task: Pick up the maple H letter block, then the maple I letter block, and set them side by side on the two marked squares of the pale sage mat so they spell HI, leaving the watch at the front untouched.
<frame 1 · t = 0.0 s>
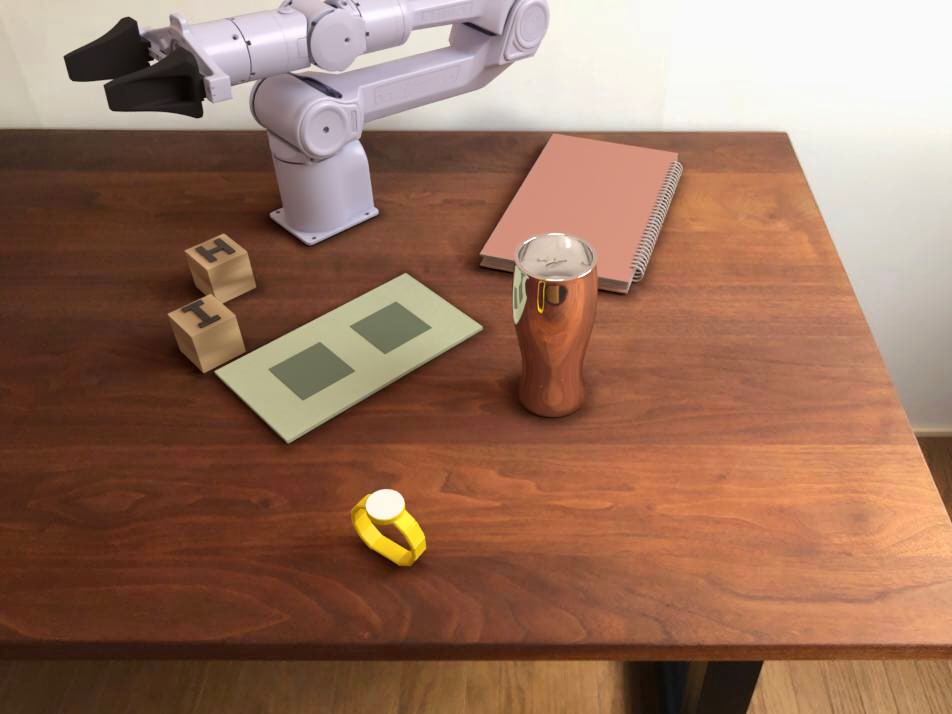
hand: (87, 83, 75), 22 cm above the table, tool horizontal, fingers open, 7 cm apart
block H: (226, 287, 91), on the table
block I: (213, 351, 84), on the table
beer glass: (551, 395, 80), on the table
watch: (392, 554, 68), on the table
notebook: (590, 215, 101), on the table
word mat: (353, 351, 84), on the table
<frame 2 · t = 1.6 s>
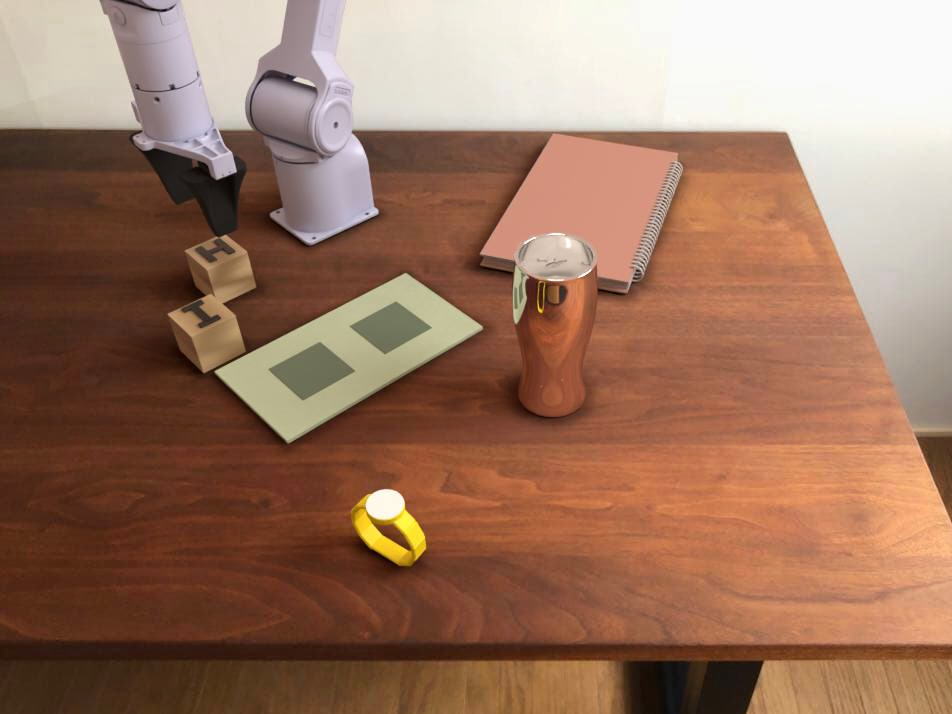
hand: (205, 215, 85), 8 cm above the table, tool pointing down, fingers open, 7 cm apart
nothing on the table moved.
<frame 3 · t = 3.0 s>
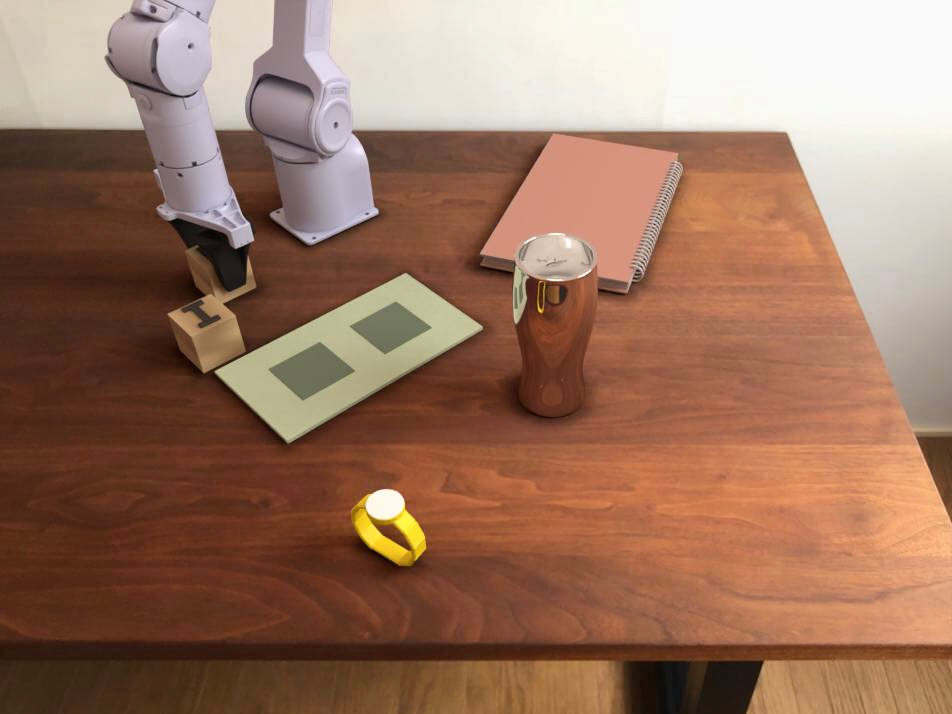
hand: (222, 275, 90), 1 cm above the table, tool pointing down, fingers closed on block H, 4 cm apart
block H: (226, 287, 91), on the table, touching gripper
everything else where it was.
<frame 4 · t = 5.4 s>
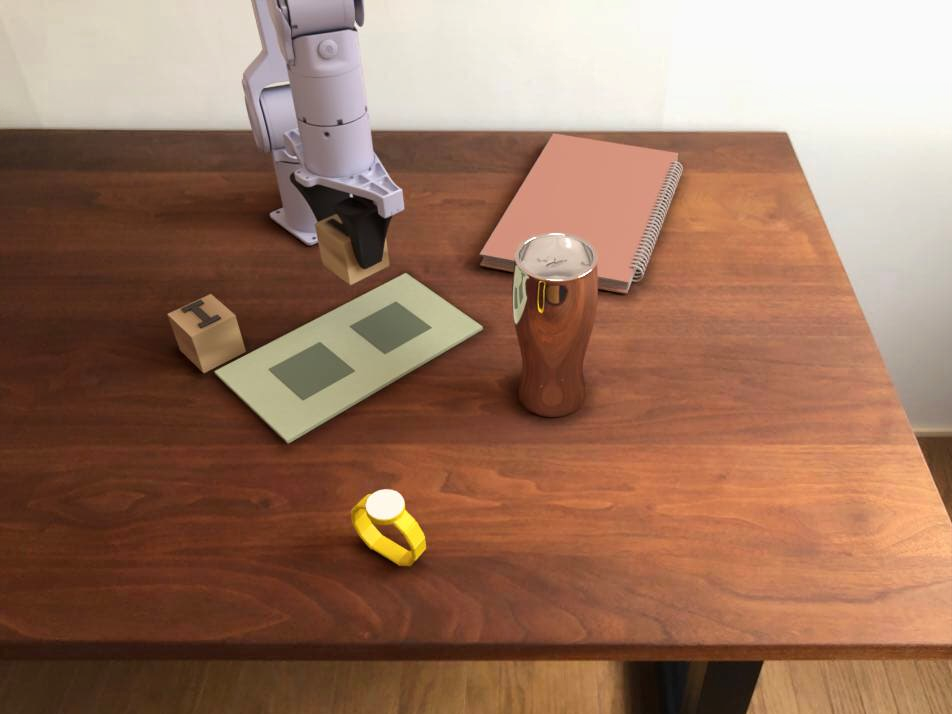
hand: (354, 251, 81), 8 cm above the table, tool pointing down, fingers closed on block H, 4 cm apart
block H: (356, 265, 82), point 7 cm above the table, touching gripper
everything else where it was.
when the fingers open (2 cm above the table, at t = 7.7 s): block H stays where it is, resting on word mat.
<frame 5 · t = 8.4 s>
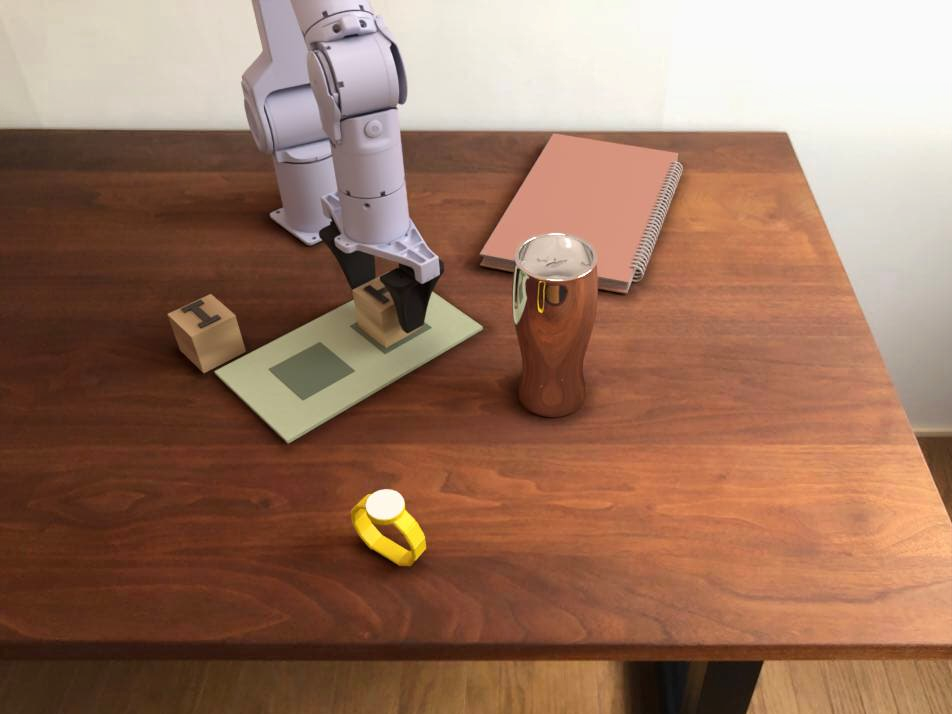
hand: (388, 308, 84), 3 cm above the table, tool pointing down, fingers open, 7 cm apart
block H: (390, 327, 86), resting on word mat
everything else where it was.
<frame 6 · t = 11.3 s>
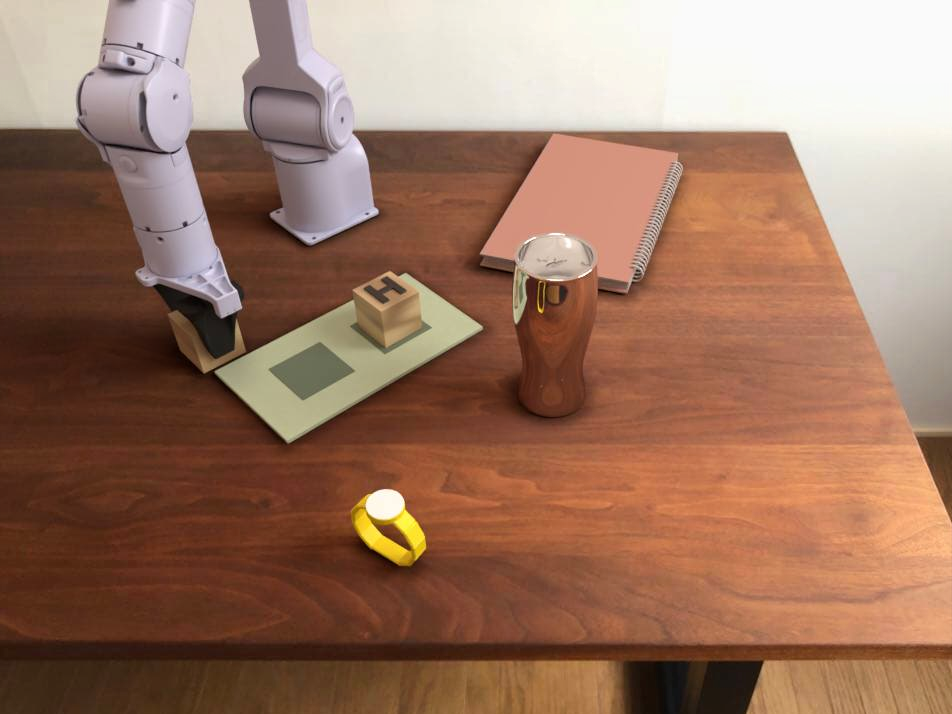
hand: (209, 339, 83), 1 cm above the table, tool pointing down, fingers closed on block I, 4 cm apart
block I: (213, 351, 84), on the table, touching gripper
everything else where it was.
when the fingers open (2 cm above the table, at t = 15.4 s): block I stays where it is, resting on word mat.
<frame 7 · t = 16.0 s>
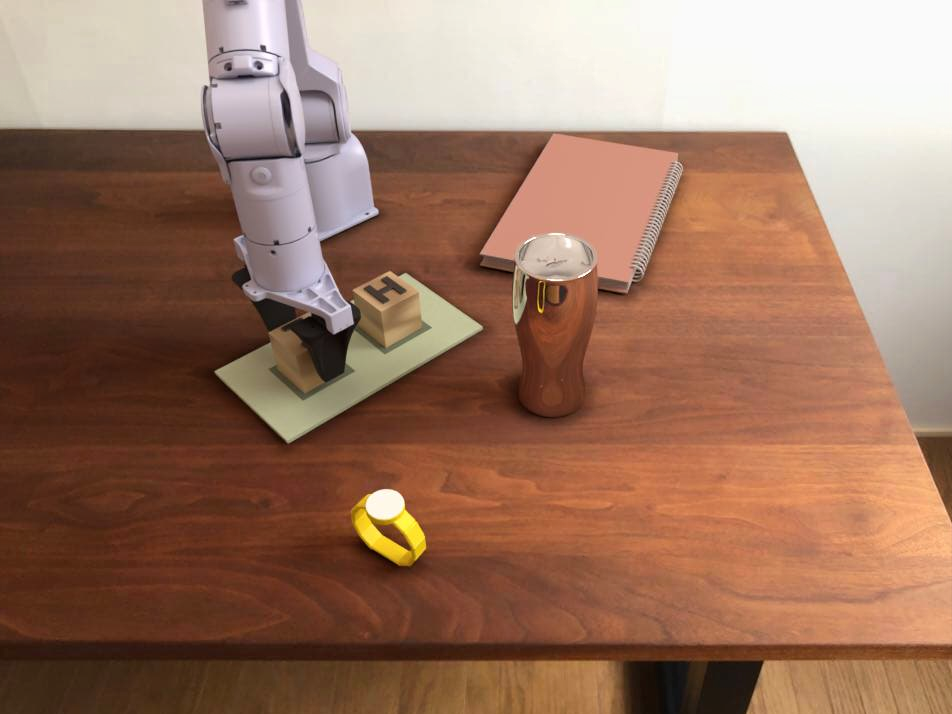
hand: (308, 354, 80), 2 cm above the table, tool pointing down, fingers open, 7 cm apart
block I: (311, 370, 81), resting on word mat
everything else where it was.
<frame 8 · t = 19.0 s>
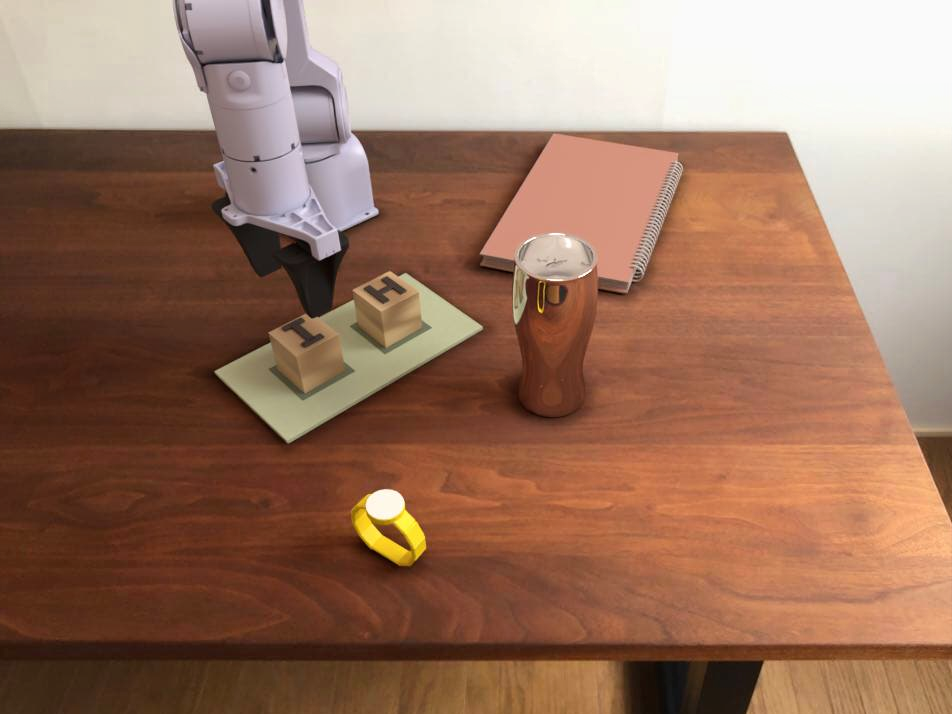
hand: (293, 291, 75), 9 cm above the table, tool pointing down, fingers open, 7 cm apart
nothing on the table moved.
at the end: block H 0.1 cm from the target spot on the word mat, point 0.5 cm above the word mat's base; block I 0.1 cm from the target spot on the word mat, point 0.5 cm above the word mat's base; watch moved 0.2 cm from its start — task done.
